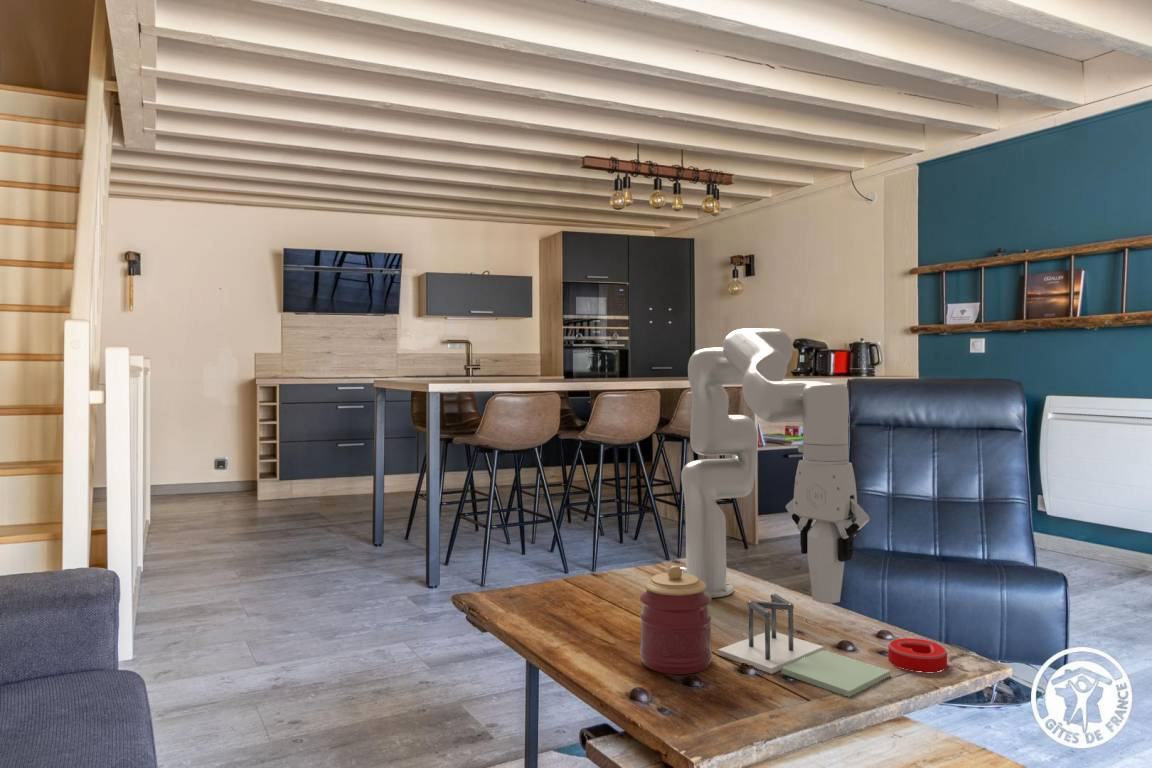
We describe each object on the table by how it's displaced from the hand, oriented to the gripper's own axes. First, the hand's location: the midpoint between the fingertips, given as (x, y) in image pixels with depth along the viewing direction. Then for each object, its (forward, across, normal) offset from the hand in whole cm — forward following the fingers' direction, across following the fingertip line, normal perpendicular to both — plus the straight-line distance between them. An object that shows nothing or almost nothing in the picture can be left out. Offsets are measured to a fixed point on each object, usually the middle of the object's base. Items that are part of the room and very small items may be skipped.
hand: (826, 555), depth 133 cm
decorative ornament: (+21, +8, +17) cm, 28 cm away
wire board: (+21, -12, 0) cm, 24 cm away
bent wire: (+21, -12, 0) cm, 24 cm away
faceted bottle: (+8, 0, 0) cm, 8 cm away
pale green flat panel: (+21, +1, 0) cm, 21 cm away
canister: (+21, -21, -16) cm, 34 cm away
